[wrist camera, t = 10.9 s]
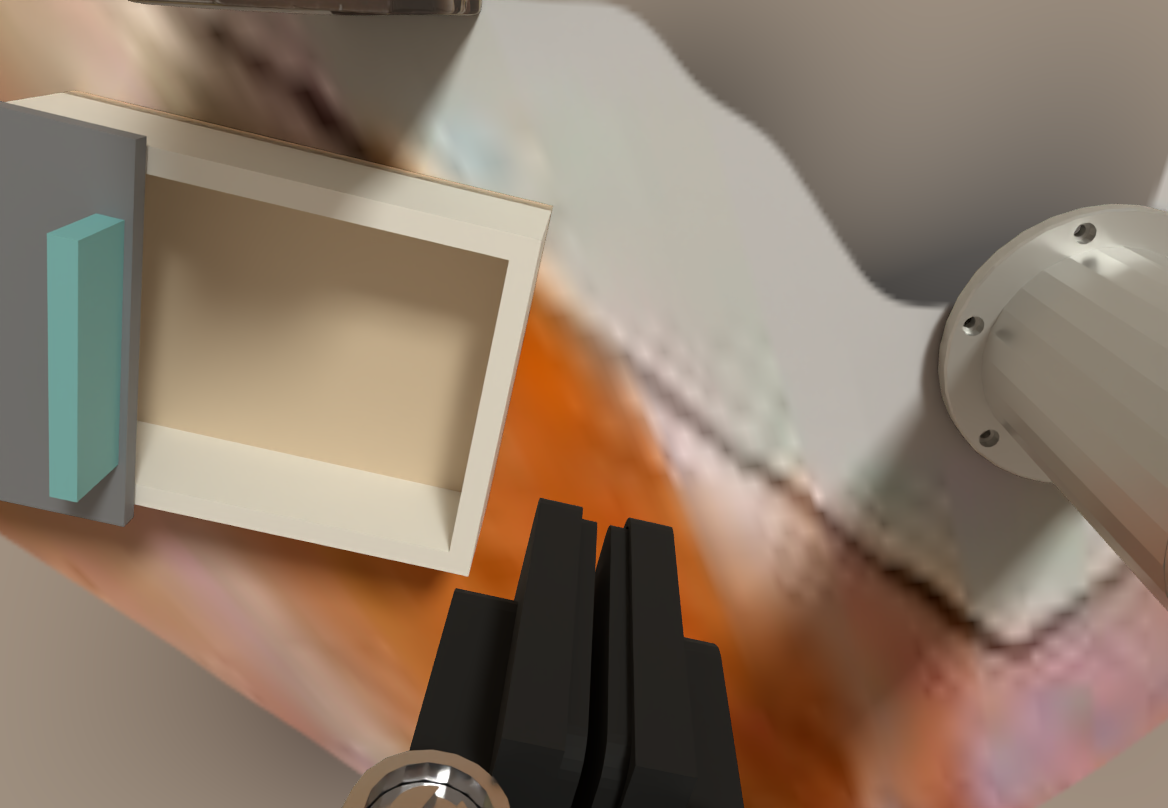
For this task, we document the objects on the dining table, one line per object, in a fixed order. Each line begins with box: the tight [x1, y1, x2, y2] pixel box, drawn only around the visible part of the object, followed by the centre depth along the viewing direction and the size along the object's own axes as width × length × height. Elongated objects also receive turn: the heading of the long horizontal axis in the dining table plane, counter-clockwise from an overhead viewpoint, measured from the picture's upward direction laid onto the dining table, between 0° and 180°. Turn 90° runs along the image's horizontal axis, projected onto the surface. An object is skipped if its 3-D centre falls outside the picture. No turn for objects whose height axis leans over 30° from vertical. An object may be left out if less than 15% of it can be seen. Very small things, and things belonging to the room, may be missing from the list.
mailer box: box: [6, 90, 553, 576], centre depth 38 cm, size 20×15×6 cm
